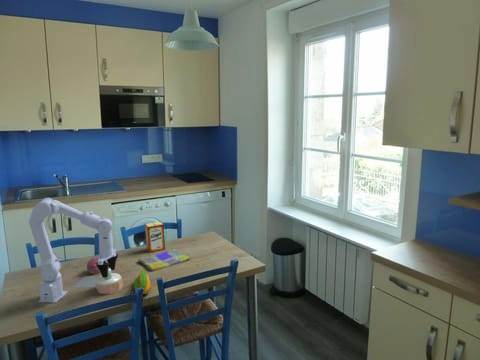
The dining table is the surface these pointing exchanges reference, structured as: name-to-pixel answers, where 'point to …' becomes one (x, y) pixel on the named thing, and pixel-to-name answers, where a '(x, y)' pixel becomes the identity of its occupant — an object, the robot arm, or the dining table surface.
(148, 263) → the dish towel
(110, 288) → the bowl
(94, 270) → the cupcake
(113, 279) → the lid
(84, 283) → the mat
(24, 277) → the dining table surface
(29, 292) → the dining table surface
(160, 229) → the baking soda box
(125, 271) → the dining table surface
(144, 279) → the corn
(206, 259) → the dining table surface
